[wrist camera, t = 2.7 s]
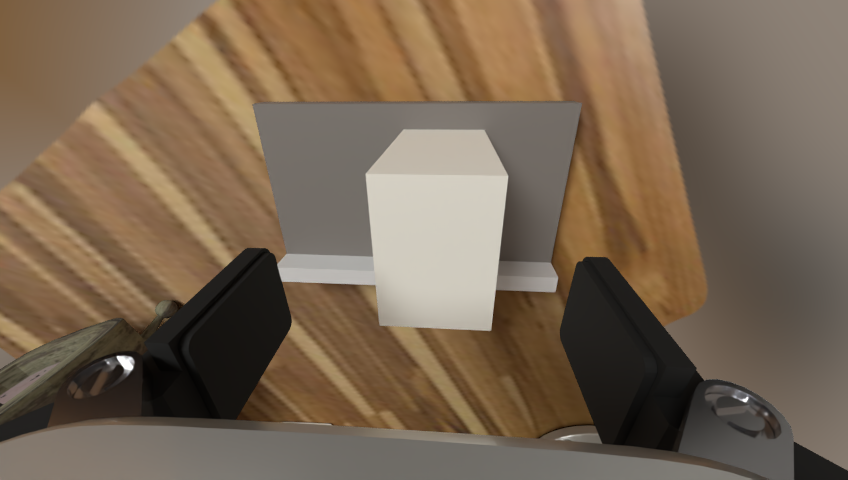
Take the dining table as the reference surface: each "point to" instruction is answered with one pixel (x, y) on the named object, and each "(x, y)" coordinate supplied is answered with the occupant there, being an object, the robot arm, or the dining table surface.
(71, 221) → the dining table surface
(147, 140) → the dining table surface
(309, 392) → the dining table surface
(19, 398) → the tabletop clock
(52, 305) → the dining table surface
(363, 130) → the shelf board
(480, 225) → the carton
